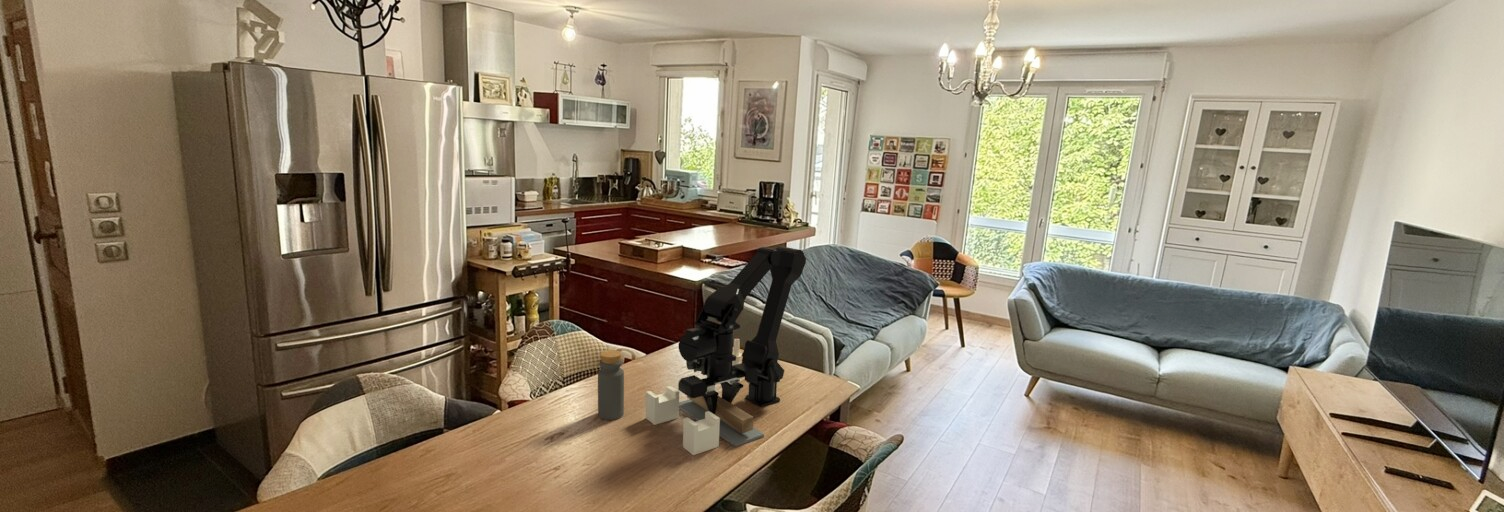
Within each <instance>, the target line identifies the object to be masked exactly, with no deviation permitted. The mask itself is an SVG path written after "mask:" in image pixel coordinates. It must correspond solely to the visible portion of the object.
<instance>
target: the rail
mask: <svg viewBox="0 0 1504 512" xmlns="http://www.w3.org/2000/svg"><path fill="white" fill-rule="evenodd" d="M686 398H687V399H688V400H689V399H690V400H692V401H693V402H695V403H696V404H698V405H699V406H701V407H702V408H704V409H705V410H707V411H708V408H707V405H706V402H705V399H704V397H703V396H700V397H697V398H690V397H688V396H687V395H686ZM715 415H716V416H717V417H719V418H720V419H721V420H722V421H724V422H725V423H727V424H728V425H730V426H731V427H733V428H734V429H736V430H737V431H739V432H740V433H745V432H748V431H751V430H753V427H754V416H752V415H750V414H749V413H747V412H746V411H745V410H743V409H741V408H740V407H738V406H736V405H735V404H733V403H729V402H728V401H726V400H725V399H723V398H722V396H719V395H718V400H717V406H716V411H715Z"/></svg>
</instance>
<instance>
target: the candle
mask: <svg viewBox="0 0 1504 512" xmlns="http://www.w3.org/2000/svg"><path fill="white" fill-rule="evenodd" d="M742 353H743V352H740V338H733V355H735V356H736V361H732V366H733V365H737V364H741V363H742V362H741V357H743V356H742Z"/></svg>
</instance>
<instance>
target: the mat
mask: <svg viewBox="0 0 1504 512" xmlns="http://www.w3.org/2000/svg"><path fill="white" fill-rule="evenodd" d="M679 410H682V412H684V413H685V414H687V415H688V416H690V417H691V418H693V419H694V420H695V421H699V420H702V419H705V412H707V410H705V409H704V408H702V407H701V406H699V405H698V404H696V403H695V402H693V401H692V400H690V399H689V398H688V399H686V400H682V401H679ZM764 437H765V434H764V433H763V432H761V431H760V430H758V429H757V428H755V427H754V426H753V430H751V431H748V432H745V433H740V432H739V431H737V430H736V429H734V428H733V427H731V426H730V425H728V424H727V423H725V422H724V421H722V420H721V419H720V427H719V438H722V439H724V441H725V442H728V443H729V444H730V445H732V446H733V447H735V448H736V447H738V446H741V445H743V444H747V443H749V442H753V441H756V440H758V439H761V438H764Z"/></svg>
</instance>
